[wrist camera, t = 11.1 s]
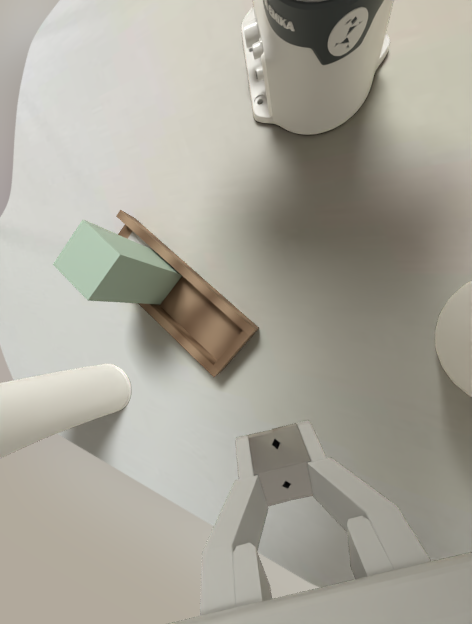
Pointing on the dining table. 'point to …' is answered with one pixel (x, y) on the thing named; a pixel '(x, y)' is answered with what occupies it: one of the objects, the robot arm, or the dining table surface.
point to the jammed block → (114, 267)
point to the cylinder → (456, 338)
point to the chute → (194, 308)
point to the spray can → (58, 403)
